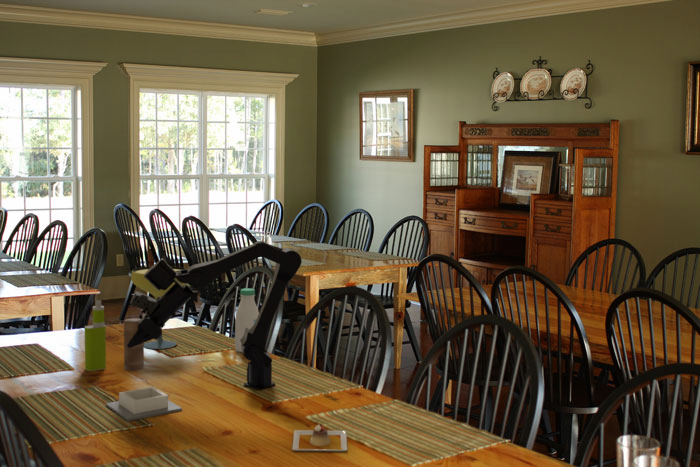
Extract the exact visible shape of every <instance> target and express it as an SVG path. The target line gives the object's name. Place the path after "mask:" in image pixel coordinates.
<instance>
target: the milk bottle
mask: <svg viewBox="0 0 700 467" xmlns="http://www.w3.org/2000/svg"><path fill="white" fill-rule="evenodd" d="M255 294H256V289H255V288H241V289H240V302H239V303H238V304H239V305H238V307H237V309H236V311H235V312H236V313H235V322H234V323H235V326H234V328H235V329H234V330H235V332H234V333H235V334H234V346H235V347H234V348H235V352H239V353H243V351H242V349H241V341H240V339H241V338H242V337H243V335H244V332H245V328H248V329H251V328H252V327H253V325H254V324H255V322H256V320H257V317H258V315H259V312H260V310H259V309H258V306H257V303H256V301H255V296H256V295H255Z"/></svg>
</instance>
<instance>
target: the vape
mask: <svg viewBox="0 0 700 467" xmlns="http://www.w3.org/2000/svg"><path fill="white" fill-rule="evenodd" d="M106 338H107V336H106V324H105V306H104V305H102V300H100V299H99V300H95V305H93V306H92V325H91V324H90V325H84V370H85V371H88V372H94V371H95V372H96V371H99V370H105V369H106V368H107V354H106V353H107V350H106V349H107V348H106V347H107V344H106V341H107V340H106Z"/></svg>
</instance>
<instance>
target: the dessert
mask: <svg viewBox="0 0 700 467" xmlns="http://www.w3.org/2000/svg"><path fill="white" fill-rule="evenodd" d="M300 435H304V436H305V435H307V436H308V435H309V436H311V438H310V440H309V443H310V445H311V446H315V447H325V446H328V445H330V444H331V441H330V437H329V436H340V448H342V450H341V449H331V448H330V449H328V448H327V449H321V448H319V449H314V448H309V449H308V448H299V446H300V445H299V444H300V438H301V437H300ZM347 438H348V436H347V430H327V429H326V428H325V427H324V426H323V425H322V424H321V423H319V424H317V425H315V427H314V429H313V430H312V429H310V430H309V429H307V430H305V429H297V430H294V431H293V441H292V448H291V449H292V451H295V452H346V451H348V439H347Z"/></svg>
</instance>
